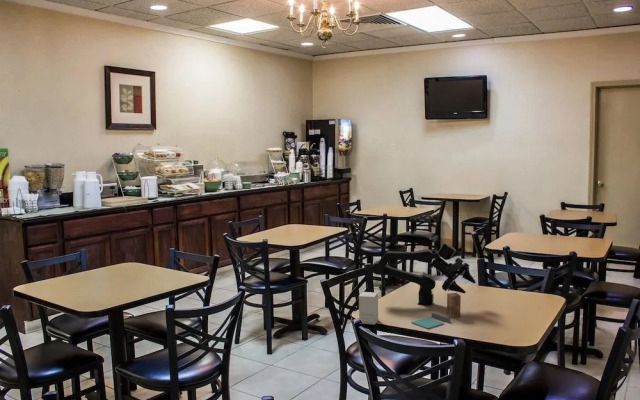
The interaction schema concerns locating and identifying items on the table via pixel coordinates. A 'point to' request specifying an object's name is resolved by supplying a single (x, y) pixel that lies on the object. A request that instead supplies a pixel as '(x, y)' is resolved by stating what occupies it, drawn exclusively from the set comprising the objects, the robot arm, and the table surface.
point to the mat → (427, 323)
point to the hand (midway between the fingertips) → (470, 287)
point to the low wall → (441, 317)
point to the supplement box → (368, 307)
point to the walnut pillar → (453, 305)
